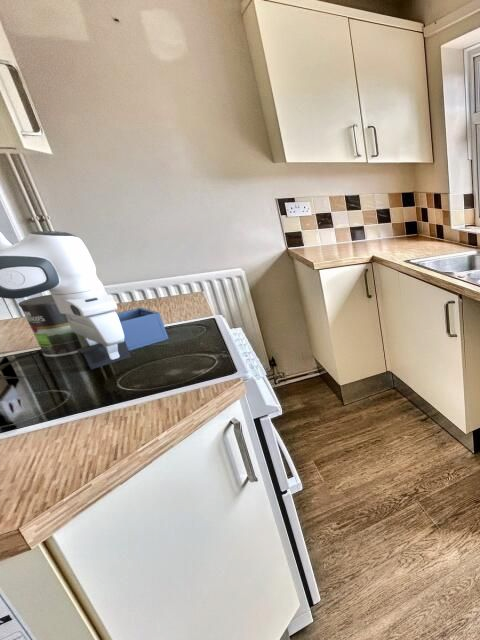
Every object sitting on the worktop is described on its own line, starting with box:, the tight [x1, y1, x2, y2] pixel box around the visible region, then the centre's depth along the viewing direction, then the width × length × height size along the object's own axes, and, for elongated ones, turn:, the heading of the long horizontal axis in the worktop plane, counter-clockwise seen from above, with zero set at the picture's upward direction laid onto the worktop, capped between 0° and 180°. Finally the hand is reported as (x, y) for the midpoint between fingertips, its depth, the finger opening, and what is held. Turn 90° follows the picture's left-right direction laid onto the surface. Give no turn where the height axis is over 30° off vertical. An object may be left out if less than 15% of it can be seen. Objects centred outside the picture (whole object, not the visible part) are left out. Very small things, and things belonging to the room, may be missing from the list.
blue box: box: [89, 307, 169, 352], centre depth 114 cm, size 14×11×8 cm
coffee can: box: [18, 294, 89, 358], centre depth 110 cm, size 10×10×14 cm
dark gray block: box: [77, 341, 132, 371], centre depth 104 cm, size 8×4×5 cm, turn 151°
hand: (106, 354), depth 104 cm, fingers open, 8 cm apart
